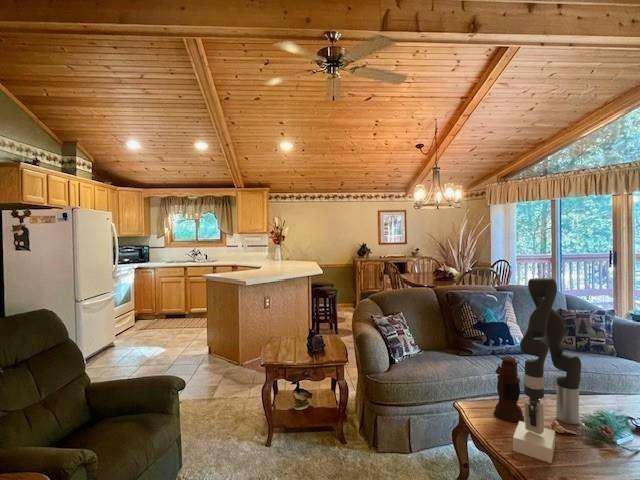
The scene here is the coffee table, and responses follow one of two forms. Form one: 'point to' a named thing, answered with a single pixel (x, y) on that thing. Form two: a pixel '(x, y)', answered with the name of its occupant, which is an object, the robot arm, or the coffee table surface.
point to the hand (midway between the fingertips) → (534, 422)
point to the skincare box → (539, 420)
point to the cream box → (534, 443)
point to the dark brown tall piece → (508, 392)
